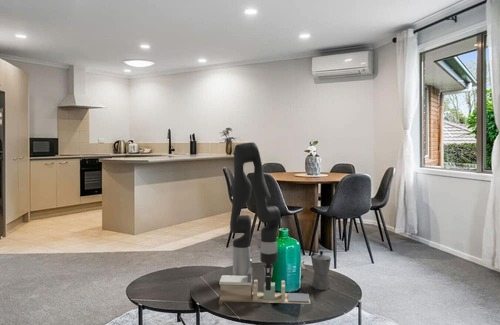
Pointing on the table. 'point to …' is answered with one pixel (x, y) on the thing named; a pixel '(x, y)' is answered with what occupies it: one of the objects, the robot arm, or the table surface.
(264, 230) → the robot arm
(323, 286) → the coffeepot
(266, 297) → the sage block
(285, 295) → the puzzle board
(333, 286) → the table surface
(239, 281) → the slide cover
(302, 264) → the game die
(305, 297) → the slate pad
